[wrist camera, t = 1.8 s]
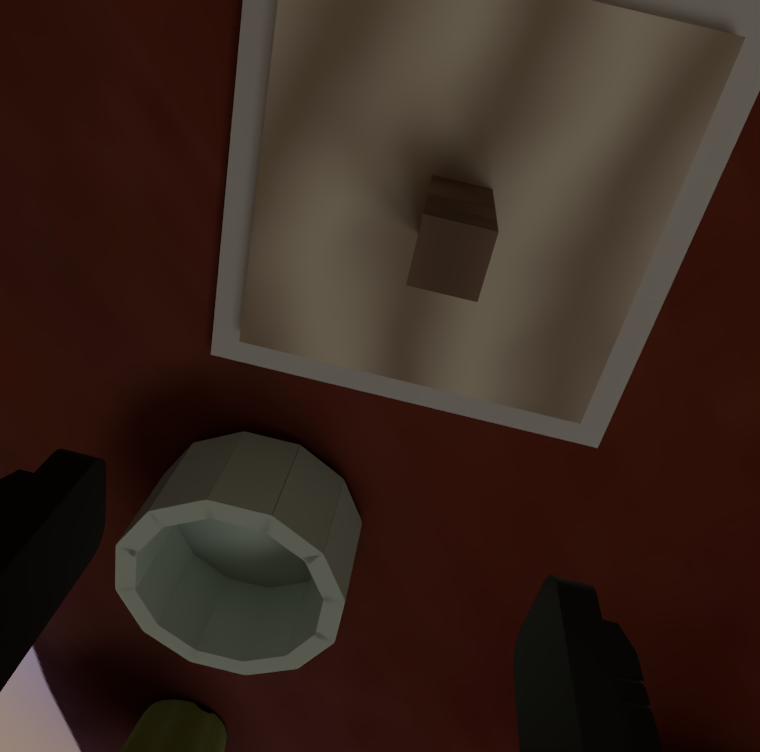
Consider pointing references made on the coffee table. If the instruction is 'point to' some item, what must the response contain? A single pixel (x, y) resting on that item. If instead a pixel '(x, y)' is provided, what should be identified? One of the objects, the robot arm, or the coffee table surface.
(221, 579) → the bowl
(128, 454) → the coffee table surface
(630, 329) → the tray
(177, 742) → the plant pot
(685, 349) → the coffee table surface
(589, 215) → the cover board
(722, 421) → the coffee table surface
